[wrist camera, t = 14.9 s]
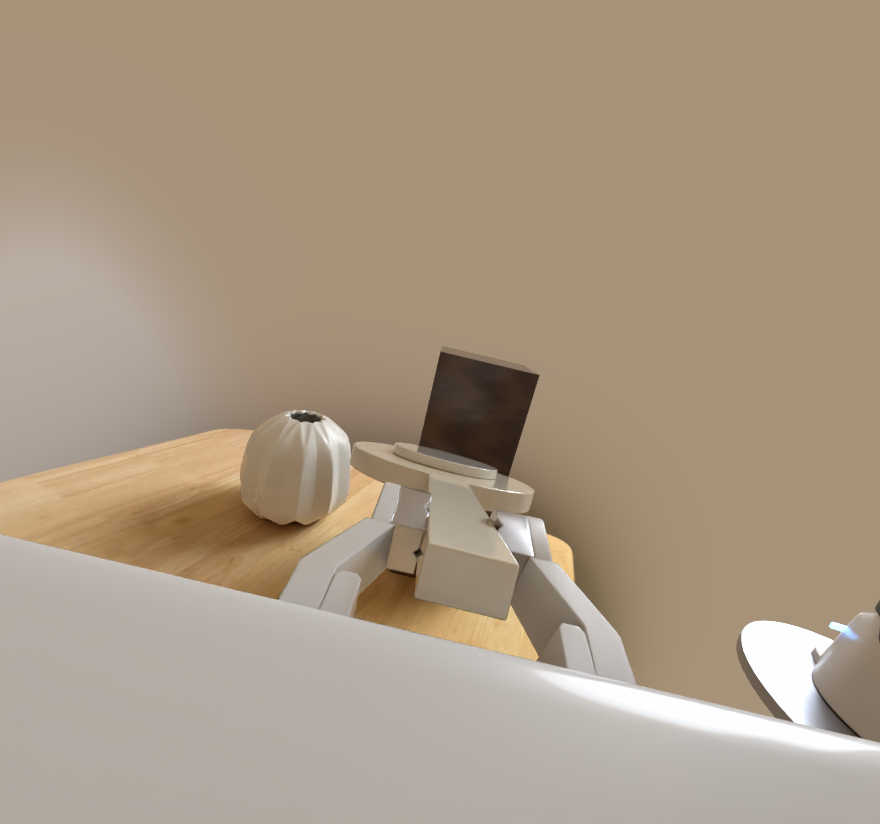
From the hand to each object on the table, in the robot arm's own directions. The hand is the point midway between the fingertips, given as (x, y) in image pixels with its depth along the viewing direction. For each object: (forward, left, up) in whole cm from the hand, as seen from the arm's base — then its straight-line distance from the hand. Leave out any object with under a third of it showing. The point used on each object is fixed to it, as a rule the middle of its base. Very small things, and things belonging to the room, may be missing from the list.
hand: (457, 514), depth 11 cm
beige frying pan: (0, -7, -3) cm, 7 cm away
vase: (+17, -33, -23) cm, 44 cm away
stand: (-3, -29, -23) cm, 37 cm away
